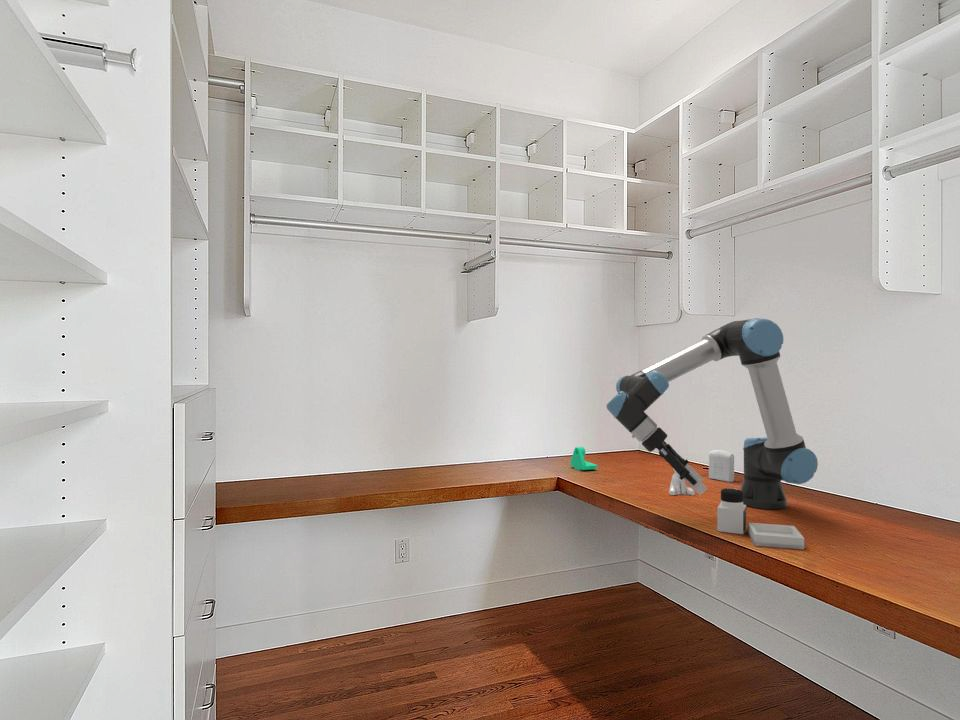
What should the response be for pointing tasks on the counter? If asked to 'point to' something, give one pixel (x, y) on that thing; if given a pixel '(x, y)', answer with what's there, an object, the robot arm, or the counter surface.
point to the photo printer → (721, 465)
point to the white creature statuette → (679, 486)
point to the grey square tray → (775, 536)
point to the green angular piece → (581, 460)
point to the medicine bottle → (731, 512)
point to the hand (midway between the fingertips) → (702, 487)
